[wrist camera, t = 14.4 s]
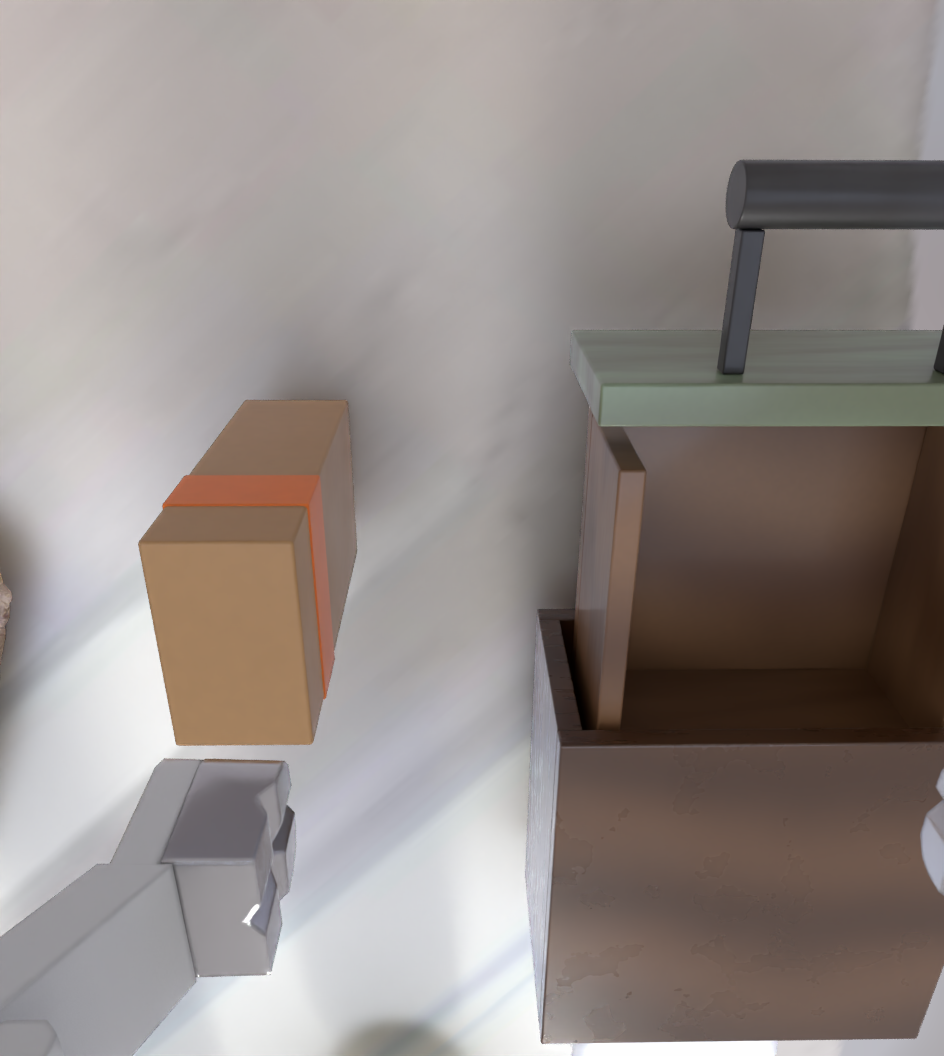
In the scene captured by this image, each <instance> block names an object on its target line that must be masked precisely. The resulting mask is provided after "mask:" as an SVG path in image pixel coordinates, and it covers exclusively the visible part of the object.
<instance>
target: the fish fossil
mask: <svg viewBox="0 0 944 1056" xmlns="http://www.w3.org/2000/svg"><path fill="white" fill-rule="evenodd" d="M11 601H12V592H11V591H10V590H9V589H8V588H7V586H6V585H5V584H4V583H3V579H2V576H1V573H0V664H1V659H2V653H3V648H4V643H5V639H6V635H5V634H6V629H5V625H6V623H7V622H8V620H9V617H10V605H9V604H10V602H11Z"/></svg>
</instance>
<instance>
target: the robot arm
mask: <svg viewBox="0 0 944 1056" xmlns="http://www.w3.org/2000/svg"><path fill="white" fill-rule="evenodd" d="M935 787H936V789H937V790H938V792H939V794H940V796H941V797H942V799H943V800H942V801H941V802H940V803H938V804H937V805H936V806H935V807H933V808H932V809H931V810H930V811H928V812H927V813H926V815H925V819H924V822H923V825H922V829H921V832H920V839H921V852H922V858H923V861H924V864H925V867H926V870H927V873H928V875H929V877H930V878H931V880H932V882H933V883H934V885H935V887H936V889H937V890H938V892H939V893H941V894H942V895H944V769H942V770H941V772H940V775H939V778H938V780H937V783H936V786H935ZM290 789H291V779H290V772H289V766H288V764H287V763H286V762H285V761H270V760H232V759H205V760H196V759H165V758H164V759H163V760H162V761H161V762H160V763H159V764H158V765H157V766H156V767H155V768H154V771H153V773H152V775H151V777H150V779H149V781H148V783H147V785H146V788H145V790H144V792H143V794H142V796H141V798H140V800H139V803H138V805H137V807H136V809H135V811H134V813H133V815H132V817H131V820H130V822H129V824H128V826H127V828H126V830H125V832H124V835H123V837H122V839H121V841H120V843H119V845H118V847H117V849H116V852H115V854H114V856H113V858H112V860H111V862H110V864H96V865H95V866H94V867H92V868H91V869H90V870H89V871H87V872H86V873H85V874H83V875H82V876H81V877H79V878H78V879H77V880H75V881H74V882H73V883H71V884H70V885H69V886H67V887H66V888H65V889H63V890H62V891H61V892H59V893H58V894H57V895H55V896H54V897H53V898H51V899H50V900H49V901H47V902H46V903H45V904H43V905H42V906H41V907H39V908H38V909H37V910H35V911H34V912H33V913H31V914H30V915H29V916H27V917H26V918H25V919H24V920H22V921H21V922H20V923H18V924H17V925H16V926H14V927H13V928H12V929H10V930H9V931H8V932H6V933H5V934H4V935H2V936H1V937H0V1056H133V1055H134V1053H135V1052H136V1051H137V1050H138V1049H139V1048H140V1046H141V1045H142V1044H143V1043H144V1042H145V1041H146V1039H147V1038H148V1037H149V1036H150V1035H151V1034H152V1033H153V1031H154V1030H155V1029H156V1028H157V1027H158V1026H159V1024H160V1023H161V1022H162V1021H163V1020H164V1019H165V1018H166V1016H167V1015H168V1014H169V1013H170V1012H171V1011H172V1009H173V1008H174V1007H175V1006H176V1005H177V1004H178V1002H179V1001H180V1000H181V999H182V998H183V997H184V996H185V994H186V993H187V992H188V991H189V990H190V989H191V987H192V986H193V985H194V984H195V983H196V977H216V976H249V975H271V971H272V966H273V962H274V958H275V953H276V949H277V944H278V940H279V936H280V931H281V927H282V918H281V910H280V902H279V901H280V900H281V899H282V898H283V897H284V896H285V895H286V894H287V893H288V892H289V891H290V886H291V881H292V876H293V871H294V862H295V852H296V823H295V813H294V811H293V810H292V809H291V808H290V807H288V806H287V801H288V797H289V793H290Z"/></svg>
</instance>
